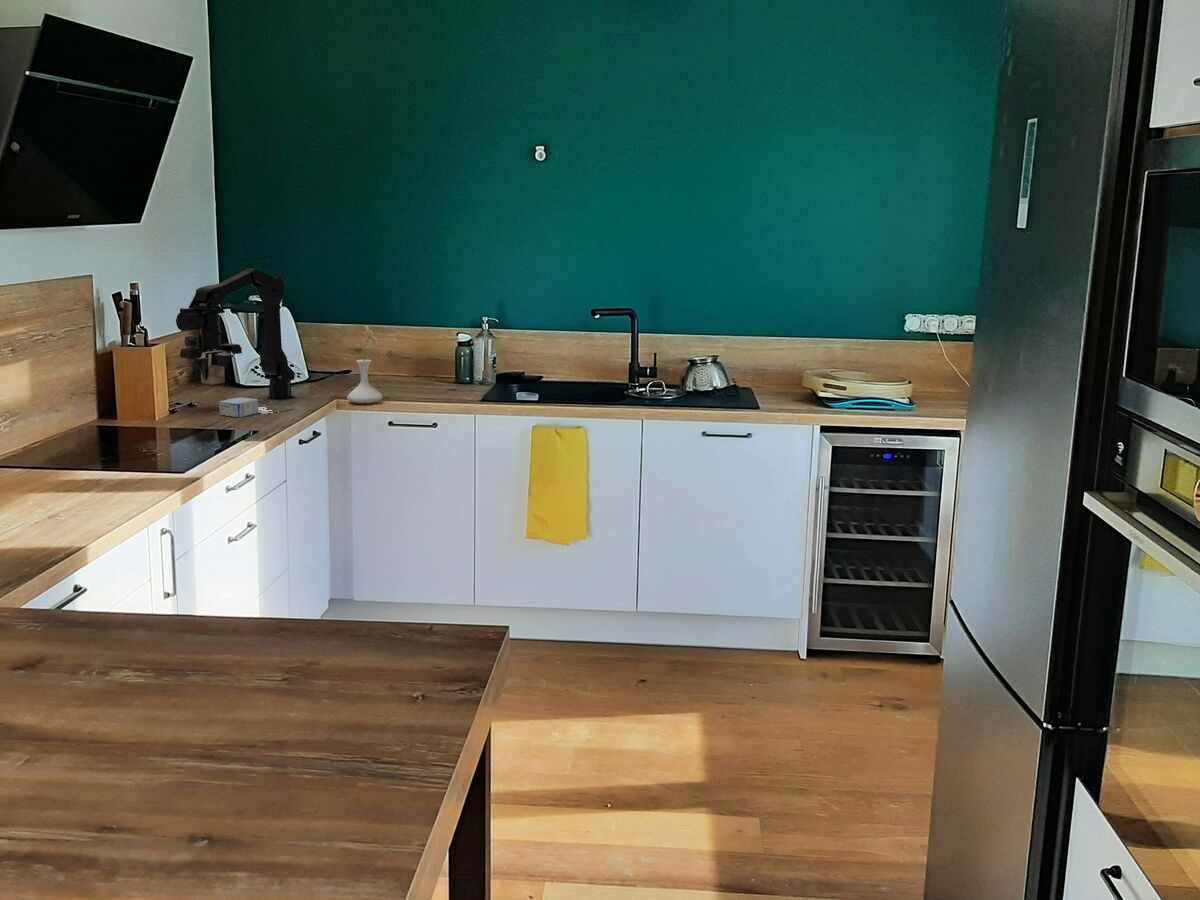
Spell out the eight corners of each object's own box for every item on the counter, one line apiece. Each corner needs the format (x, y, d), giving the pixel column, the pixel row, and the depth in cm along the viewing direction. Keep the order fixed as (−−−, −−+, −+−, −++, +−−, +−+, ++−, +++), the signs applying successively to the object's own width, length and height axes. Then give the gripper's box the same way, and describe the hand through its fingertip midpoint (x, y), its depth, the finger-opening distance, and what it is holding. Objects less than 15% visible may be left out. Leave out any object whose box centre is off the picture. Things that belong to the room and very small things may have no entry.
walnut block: (215, 381, 367) (214, 365, 366) (224, 382, 364) (224, 366, 363) (201, 382, 363) (200, 366, 362) (211, 384, 360) (210, 368, 359)
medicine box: (240, 410, 363) (219, 415, 356) (239, 396, 362) (218, 401, 354) (259, 412, 359) (238, 418, 352) (258, 398, 358) (237, 403, 351)
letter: (267, 404, 375) (267, 403, 375) (295, 409, 367) (295, 408, 367) (235, 409, 366) (235, 408, 366) (264, 414, 357) (264, 414, 357)
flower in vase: (374, 406, 374) (372, 328, 368) (341, 404, 376) (338, 327, 371) (390, 399, 386) (387, 324, 381) (357, 398, 388) (355, 323, 383)
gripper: (219, 324, 372) (222, 373, 375) (167, 329, 357) (171, 379, 361) (241, 326, 365) (244, 376, 369) (189, 331, 351) (192, 383, 354)
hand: (212, 378), depth 363 cm, fingers closed on walnut block, 5 cm apart
